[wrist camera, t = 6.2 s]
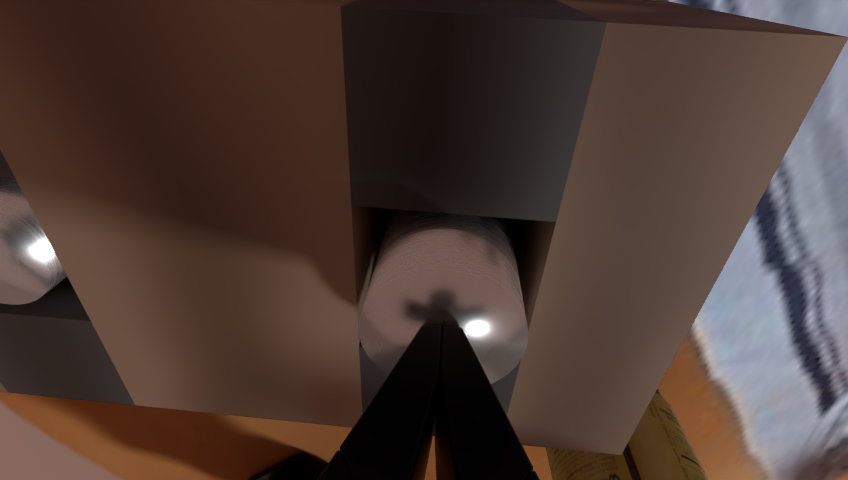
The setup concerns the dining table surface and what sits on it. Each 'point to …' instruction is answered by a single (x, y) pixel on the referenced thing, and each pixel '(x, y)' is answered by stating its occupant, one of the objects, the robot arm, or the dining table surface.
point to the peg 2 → (446, 288)
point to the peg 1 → (24, 250)
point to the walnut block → (381, 188)
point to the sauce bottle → (636, 453)
